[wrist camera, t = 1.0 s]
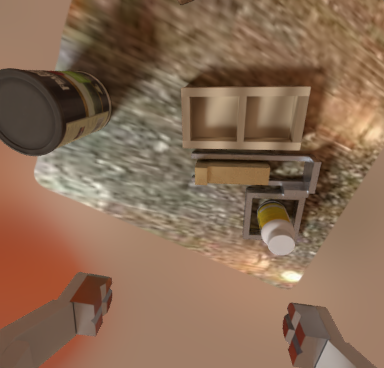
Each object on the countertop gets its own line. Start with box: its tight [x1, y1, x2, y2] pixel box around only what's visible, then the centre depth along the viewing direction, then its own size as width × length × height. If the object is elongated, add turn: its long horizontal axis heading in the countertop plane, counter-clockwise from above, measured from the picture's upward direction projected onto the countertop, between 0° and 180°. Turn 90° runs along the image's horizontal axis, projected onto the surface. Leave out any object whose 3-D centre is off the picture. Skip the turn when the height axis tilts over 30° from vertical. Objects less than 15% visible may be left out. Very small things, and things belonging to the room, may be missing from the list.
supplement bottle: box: [257, 201, 295, 255], centre depth 41 cm, size 5×5×10 cm
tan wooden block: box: [195, 158, 270, 185], centre depth 41 cm, size 12×3×5 cm, turn 91°
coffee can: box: [0, 68, 111, 156], centre depth 35 cm, size 10×10×14 cm
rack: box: [181, 86, 311, 150], centre depth 38 cm, size 18×9×4 cm, turn 91°
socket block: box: [191, 152, 321, 242], centre depth 43 cm, size 20×17×4 cm
